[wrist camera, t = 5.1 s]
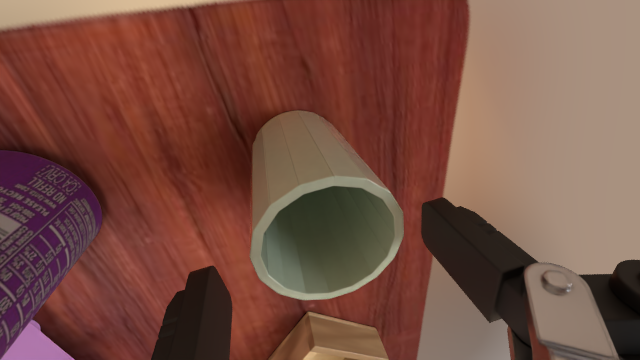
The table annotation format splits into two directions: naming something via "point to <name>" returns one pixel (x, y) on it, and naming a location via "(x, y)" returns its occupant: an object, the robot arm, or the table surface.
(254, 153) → the cup
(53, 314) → the table surface
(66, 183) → the beverage can
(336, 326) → the holder
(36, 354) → the teapot
